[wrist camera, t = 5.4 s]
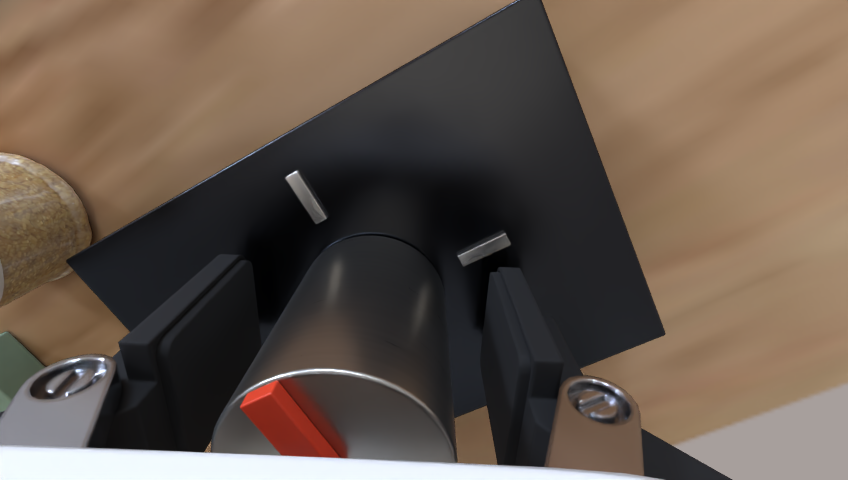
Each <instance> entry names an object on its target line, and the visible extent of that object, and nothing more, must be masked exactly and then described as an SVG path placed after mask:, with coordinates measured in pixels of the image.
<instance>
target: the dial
mask: <svg viewBox="0 0 848 480" xmlns="http://www.w3.org/2000/svg"><path fill="white" fill-rule="evenodd" d="M211 453H232V454H256V455H279V456H303V457H328V458H352V459H376V460H400V461H423V462H444V463H457V448H456V435H455V422H454V409H453V396H452V383H451V370H450V357H449V344H448V331H447V318H446V305H445V294H444V288H443V285H442V282H441V279H440V277H439V275H438V273H437V271H436V270H435V268H434V267H433V265H432V264H431V263H430V262H429V261H428V259H427V258H426V257H425V256H423V255H422V254H421V253H420V252H419V251H417V250H416V249H414V248H413V247H411V246H409V245H407V244H405V243H403V242H401V241H398V240H395V239H392V238H388V237H383V236H358V237H353V238H349V239H345V240H343V241H340V242H338V243H336V244H334V245H332V246H331V247H329V248H327V249H326V250H325V251H324V252H322V253H321V254H320V255H319V256H318V257H317V258H316V259H315V261H314V262H313V264H312V265H311V266H310V268H309V270H308V271H307V273H306V275H305V276H304V278H303V280H302V281H301V283H300V285H299V286H298V288H297V289H296V291H295V293H294V294H293V296H292V298H291V299H290V301H289V303H288V304H287V306H286V308H285V309H284V311H283V313H282V314H281V316H280V318H279V319H278V321H277V323H276V324H275V326H274V328H273V329H272V331H271V332H270V334H269V336H268V337H267V339H266V341H265V342H264V344H263V346H262V347H261V349H260V351H259V352H258V354H257V356H256V357H255V359H254V361H253V362H252V364H251V366H250V367H249V369H248V370H247V372H246V374H245V375H244V377H243V379H242V380H241V382H240V384H239V385H238V387H237V389H236V390H235V392H234V394H233V395H232V397H231V399H230V400H229V402H228V404H227V405H226V407H225V409H224V410H223V412H222V413H221V415H220V417H219V419H218V421H217V423H216V426H215V428H214V432H213V436H212V441H211Z"/></svg>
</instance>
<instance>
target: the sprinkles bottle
mask: <svg viewBox="0 0 848 480" xmlns="http://www.w3.org/2000/svg"><path fill="white" fill-rule="evenodd" d="M91 239H92V233H91V228H90V225H89V221H88V216H87V213H86V211H85V208H84V206H83V204H82V202H81V200H80V199H79V197H78V196H77V195H76V193H75V192H74V190H73V188H72V187H71V186H69V185H68V184H67V182H65V181H64V180H63V179H62V178H61V177H60V176H58V175H57V174H55V173H53V172H52V171H50V170H49V169H48V168H47V167H45V166H44V165H42V164H39V163H36V162H35V161H33V160H31V159H28V158H26V157H23V156H21V155H15V154H8V153H0V307H2V306H4V305H6V304H8V303H10V302H12V301H13V300H15V299H17V298H20V297H21V296H23V295H25V294H27V293H28V292H30V291H32V290H34V289H36V288H38V287H39V286H41V285H43V284H44V283H46V282H50V281H54V280H57V279H60V278H62V277H65V276H67V275H68V274H70V273H71V272H72V271H74V270H73V269H72V268H71V267H70V266H69V265H68V264H67V263H66V260H67V259H68V258H70V257H71V256H73V255H75V254H77V253H78V252H80V251H82V250H84V249H85V248H87V247H89V246H90V243H91Z"/></svg>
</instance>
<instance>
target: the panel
mask: <svg viewBox="0 0 848 480" xmlns="http://www.w3.org/2000/svg"><path fill="white" fill-rule="evenodd" d="M358 236H383V237H388V238H392V239H395V240H398V241H401V242H403V243H405V244H407V245H409V246H411V247H413V248H414V249H416V250H417V251H419V252H420V253H421V254H422V255H423V256H425V257H426V258H427V259H428V261H429V262H430V263H431V264H432V265H433V267H434V268H435V270H436V271H437V273H438V275H439V277H440V279H441V282H442V285H443V288H444V294H445V305H446V318H447V331H448V344H449V357H450V370H451V383H452V396H453V409H454V418H456V417H458V416H461V415H463V414H466V413H469V412H471V411H474V410H476V409H479V408H481V407H484V406H486V405H487V402H486V396H485V391H484V385H483V379H482V374H481V368H480V354H481V345H482V336H483V328H484V319H485V311H486V302H487V294H488V285H489V277H490V273H491V272H497V270H498V268H499V267H510V268H520V269H521V271H522V273H523V275H524V277H525V280H526V282H527V284H528V286H529V288H530V290H531V292H532V294H533V297H534V299H535V301H536V303H537V305H538V307H539V309H540V311H541V314H542V316H550V317H553V319H554V320H555V322H556V324H557V326H558V328H559V329H560V331H561V333H562V335H563V337H564V339H565V341H566V343H567V345H568V347H569V349H570V351H571V353H572V355H573V357H574V359H575V361H576V363H577V365H578V367H579V369H580V368H583V367H585V366H588V365H590V364H593V363H595V362H598V361H600V360H603V359H605V358H608V357H611V356H613V355H616V354H618V353H621V352H623V351H626V350H628V349H631V348H633V347H636V346H638V345H641V344H643V343H646V342H649V341H651V340H654V339H656V338H659V337H661V336H664V335H665V331H664V328H663V325H662V323H661V320H660V317H659V314H658V312H657V309H656V306H655V304H654V301H653V298H652V296H651V293H650V290H649V288H648V285H647V282H646V280H645V277H644V274H643V271H642V269H641V266H640V263H639V261H638V258H637V255H636V253H635V250H634V247H633V245H632V242H631V239H630V237H629V234H628V231H627V228H626V226H625V223H624V220H623V218H622V215H621V212H620V210H619V207H618V204H617V202H616V199H615V196H614V193H613V191H612V188H611V185H610V183H609V180H608V177H607V175H606V172H605V169H604V167H603V164H602V161H601V159H600V156H599V153H598V150H597V148H596V145H595V142H594V140H593V137H592V134H591V132H590V129H589V126H588V124H587V121H586V118H585V115H584V113H583V110H582V107H581V105H580V102H579V99H578V97H577V94H576V91H575V89H574V86H573V83H572V81H571V78H570V75H569V72H568V70H567V67H566V64H565V62H564V59H563V56H562V54H561V51H560V48H559V46H558V43H557V40H556V37H555V35H554V32H553V29H552V27H551V24H550V21H549V19H548V16H547V13H546V11H545V8H544V5H543V3H542V0H516V1H514V2H512V3H511V4H509V5H507V6H505V7H504V8H502V9H500V10H498V11H497V12H495V13H493V14H491V15H490V16H488V17H486V18H485V19H483V20H481V21H479V22H478V23H476V24H474V25H472V26H471V27H469V28H467V29H465V30H464V31H462V32H460V33H459V34H457V35H455V36H453V37H452V38H450V39H448V40H446V41H445V42H443V43H441V44H439V45H438V46H436V47H434V48H432V49H431V50H429V51H427V52H426V53H424V54H422V55H420V56H419V57H417V58H415V59H413V60H412V61H410V62H408V63H406V64H405V65H403V66H401V67H400V68H398V69H396V70H394V71H393V72H391V73H389V74H387V75H386V76H384V77H382V78H380V79H379V80H377V81H375V82H373V83H372V84H370V85H368V86H367V87H365V88H363V89H361V90H360V91H358V92H356V93H354V94H353V95H351V96H349V97H347V98H346V99H344V100H342V101H340V102H339V103H337V104H335V105H334V106H332V107H330V108H328V109H327V110H325V111H323V112H321V113H320V114H318V115H316V116H314V117H313V118H311V119H309V120H308V121H306V122H304V123H302V124H301V125H299V126H297V127H295V128H294V129H292V130H290V131H288V132H287V133H285V134H283V135H281V136H280V137H278V138H276V139H275V140H273V141H271V142H269V143H268V144H266V145H264V146H262V147H261V148H259V149H257V150H255V151H254V152H252V153H250V154H248V155H247V156H245V157H243V158H242V159H240V160H238V161H236V162H235V163H233V164H231V165H229V166H228V167H226V168H224V169H222V170H221V171H219V172H217V173H216V174H214V175H212V176H210V177H209V178H207V179H205V180H203V181H202V182H200V183H198V184H196V185H195V186H193V187H191V188H189V189H188V190H186V191H184V192H183V193H181V194H179V195H177V196H176V197H174V198H172V199H170V200H169V201H167V202H165V203H163V204H162V205H160V206H158V207H157V208H155V209H153V210H151V211H150V212H148V213H146V214H144V215H143V216H141V217H139V218H137V219H136V220H134V221H132V222H130V223H129V224H127V225H125V226H124V227H122V228H120V229H118V230H117V231H115V232H113V233H111V234H110V235H108V236H106V237H104V238H103V239H101V240H99V241H97V242H96V243H94V244H92V245H91V246H89V247H87V248H85V249H84V250H82V251H80V252H78V253H77V254H75V255H73V256H71V257H70V258H68V259H67V260H66V263H67V264H68V265H69V266H70V267H71V268H72V269H73V270H74V271H75V272H76V274H77V275H78V276H79V277H80V278H81V279H82V280H83V281H84V282H85V283H86V284H87V285H88V287H89V288H90V289H91V290H92V291H93V292H94V293H95V294H96V295H97V296H98V297H99V299H100V300H101V301H102V302H103V303H104V304H105V305H106V306H107V307H108V308H109V309H110V310H111V312H112V313H113V314H114V315H115V316H116V317H117V318H118V319H119V320H120V321H121V322H122V323H123V325H124V326H125V327H126V328H127V329H128V330H129V331H130V332H131V331H132V330H133V329H134V328H136V327H137V326H138V325H139V324H140V323H141V322H142V321H144V320H145V319H146V318H147V317H148V316H149V315H150V314H152V313H153V312H154V311H155V310H156V309H157V308H158V307H160V306H161V305H162V304H163V303H164V302H165V301H166V300H168V299H169V298H170V297H171V296H172V295H173V294H175V293H176V292H177V291H178V290H179V289H180V288H181V287H183V286H184V285H185V284H186V283H187V282H188V281H189V280H191V279H192V278H193V277H194V276H195V275H196V274H197V273H199V272H200V271H201V270H202V269H203V268H204V267H205V266H207V265H208V264H209V263H210V262H211V261H212V260H213V259H215V258H216V257H217V256H218V255H220V254H229V255H243V256H244V257H245V259H246V261H250V262H251V263H252V267H253V275H254V283H255V292H256V301H257V309H258V318H259V327H260V335H261V344H262V346H263V344H264V342H265V341H266V339H267V337H268V336H269V334H270V332H271V331H272V329H273V328H274V326H275V324H276V323H277V321H278V319H279V318H280V316H281V314H282V313H283V311H284V309H285V308H286V306H287V304H288V303H289V301H290V299H291V298H292V296H293V294H294V293H295V291H296V289H297V288H298V286H299V285H300V283H301V281H302V280H303V278H304V276H305V275H306V273H307V271H308V270H309V268H310V266H311V265H312V264H313V262H314V261H315V259H316V258H317V257H318V256H319V255H320V254H321V253H322V252H324V251H325V250H326V249H327V248H329V247H331V246H332V245H334V244H336V243H338V242H340V241H343V240H345V239H349V238H353V237H358Z"/></svg>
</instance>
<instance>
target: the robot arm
mask: <svg viewBox="0 0 848 480" xmlns="http://www.w3.org/2000/svg"><path fill="white" fill-rule="evenodd" d="M118 343H119V347H120V351H119V352H118V353H117V354H116V355H114V356H113V357H109V356H107V355H102V354H87V355H80V356H75V357H71V358H67V359H64V360H62V361H59V362H56V363H53V364H51V365H49V366H47V367H45V368H43V369H41V370H40V371H38V372H37V373H35V374H34V375H32V376H31V377H30V378H28V379H27V380H26V381H25V383H24V384H23V385H22V386H21V387H20V389H19V390H18V392H17V393H16V395H15V396H14V398H13V399H12V401H11V402H10V404H9V405H8V407H7V408H6V410H5V411H3V412H0V480H732V479H730V478H728V477H727V476H725V475H723V474H721V473H719V472H718V471H716V470H714V469H712V468H711V467H709V466H707V465H705V464H704V463H702V462H700V461H698V460H696V459H695V458H693V457H691V456H689V455H688V454H686V453H684V452H682V451H681V450H679V449H677V448H675V447H674V446H672V445H670V444H668V443H667V442H665V441H663V440H661V439H659V438H658V437H656V436H654V435H652V434H651V433H649V432H647V431H645V430H644V429H642V428H641V419H640V411H639V408H638V405H637V403H636V402H635V401H634V399H633V398H632V396H631V395H629V394H628V393H627V392H626V391H625V390H624V389H622V388H621V387H619V386H617V385H616V384H614V383H612V382H610V381H607V380H605V379H602V378H599V377H594V376H588V375H583V374H582V372H581V370H580V369H579V367H578V365H577V363H576V361H575V359H574V357H573V355H572V353H571V351H570V349H569V347H568V345H567V343H566V341H565V339H564V337H563V335H562V333H561V331H560V329H559V328H558V326H557V324H556V322H555V320H554V319H553V317H550V316H542V314H541V311H540V309H539V307H538V305H537V303H536V301H535V299H534V297H533V294H532V292H531V290H530V288H529V286H528V284H527V282H526V280H525V277H524V275H523V273H522V271H521V269H520V268H510V267H499V268H498V270H497V272H491V273H490V277H489V285H488V294H487V302H486V311H485V319H484V328H483V336H482V345H481V354H480V368H481V374H482V379H483V385H484V391H485V396H486V402H487V407H488V413H489V419H490V424H491V430H492V435H493V441H494V447H495V452H496V458H497V463H498V465H486V464H465V463H444V462H423V461H400V460H376V459H352V458H328V457H303V456H279V455H256V454H232V453H208V452H204V451H205V450H206V448H207V446H208V444H209V443H210V441H211V439H212V436H213V432H214V428H215V426H216V423H217V421H218V419H219V417H220V415H221V413H222V412H223V410H224V409H225V407H226V405H227V404H228V402H229V400H230V399H231V397H232V395H233V394H234V392H235V390H236V389H237V387H238V385H239V384H240V382H241V380H242V379H243V377H244V375H245V374H246V372H247V370H248V369H249V367H250V366H251V364H252V362H253V361H254V359H255V357H256V356H257V354H258V352H259V351H260V349H261V347H262V344H261V335H260V327H259V318H258V309H257V301H256V292H255V283H254V275H253V267H252V263H251V262H250V261H246V259H245V257H244V256H243V255H229V254H220V255H218V256H217V257H216V258H215V259H213V260H212V261H211V262H210V263H209V264H208V265H207V266H205V267H204V268H203V269H202V270H201V271H200V272H199V273H197V274H196V275H195V276H194V277H193V278H192V279H191V280H189V281H188V282H187V283H186V284H185V285H184V286H183V287H181V288H180V289H179V290H178V291H177V292H176V293H175V294H173V295H172V296H171V297H170V298H169V299H168V300H166V301H165V302H164V303H163V304H162V305H161V306H160V307H158V308H157V309H156V310H155V311H154V312H153V313H152V314H150V315H149V316H148V317H147V318H146V319H145V320H144V321H142V322H141V323H140V324H139V325H138V326H137V327H136V328H134V329H133V330H132V331H131V332H130V333H129V334H128V335H126V336H125V337H124V338H123V339H122V340H121V341H120V342H118Z"/></svg>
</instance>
